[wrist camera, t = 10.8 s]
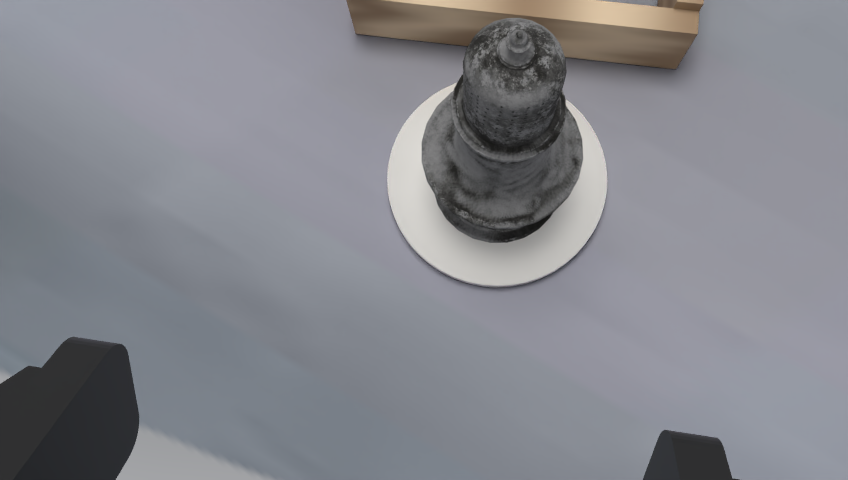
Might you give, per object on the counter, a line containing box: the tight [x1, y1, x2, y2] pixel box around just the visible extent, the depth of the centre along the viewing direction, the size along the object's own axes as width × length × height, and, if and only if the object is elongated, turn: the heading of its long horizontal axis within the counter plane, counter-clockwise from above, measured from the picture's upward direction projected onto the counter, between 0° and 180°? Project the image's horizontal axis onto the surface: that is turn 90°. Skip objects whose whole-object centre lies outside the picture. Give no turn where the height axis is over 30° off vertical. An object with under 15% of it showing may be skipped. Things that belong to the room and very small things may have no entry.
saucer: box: [387, 83, 607, 287], centre depth 31 cm, size 9×9×1 cm
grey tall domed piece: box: [422, 18, 583, 243], centre depth 24 cm, size 6×6×12 cm
